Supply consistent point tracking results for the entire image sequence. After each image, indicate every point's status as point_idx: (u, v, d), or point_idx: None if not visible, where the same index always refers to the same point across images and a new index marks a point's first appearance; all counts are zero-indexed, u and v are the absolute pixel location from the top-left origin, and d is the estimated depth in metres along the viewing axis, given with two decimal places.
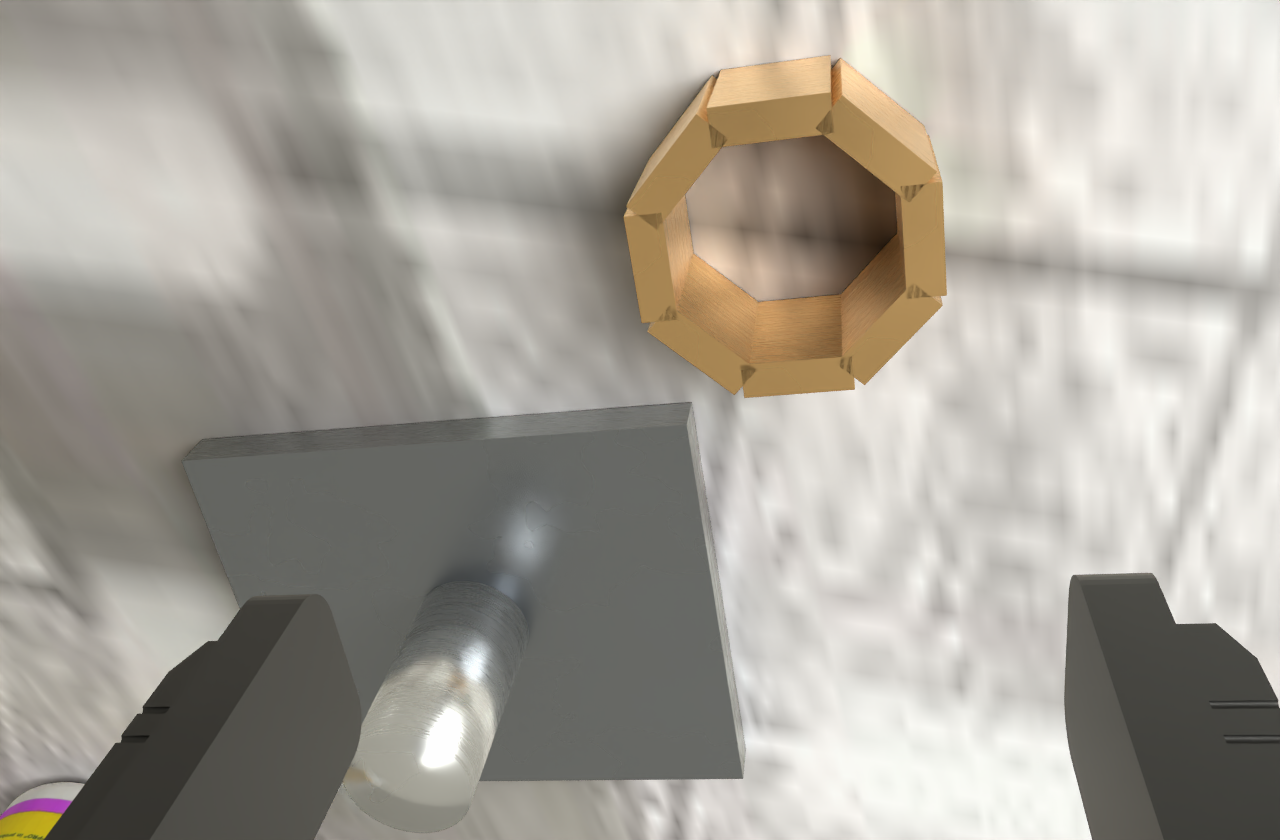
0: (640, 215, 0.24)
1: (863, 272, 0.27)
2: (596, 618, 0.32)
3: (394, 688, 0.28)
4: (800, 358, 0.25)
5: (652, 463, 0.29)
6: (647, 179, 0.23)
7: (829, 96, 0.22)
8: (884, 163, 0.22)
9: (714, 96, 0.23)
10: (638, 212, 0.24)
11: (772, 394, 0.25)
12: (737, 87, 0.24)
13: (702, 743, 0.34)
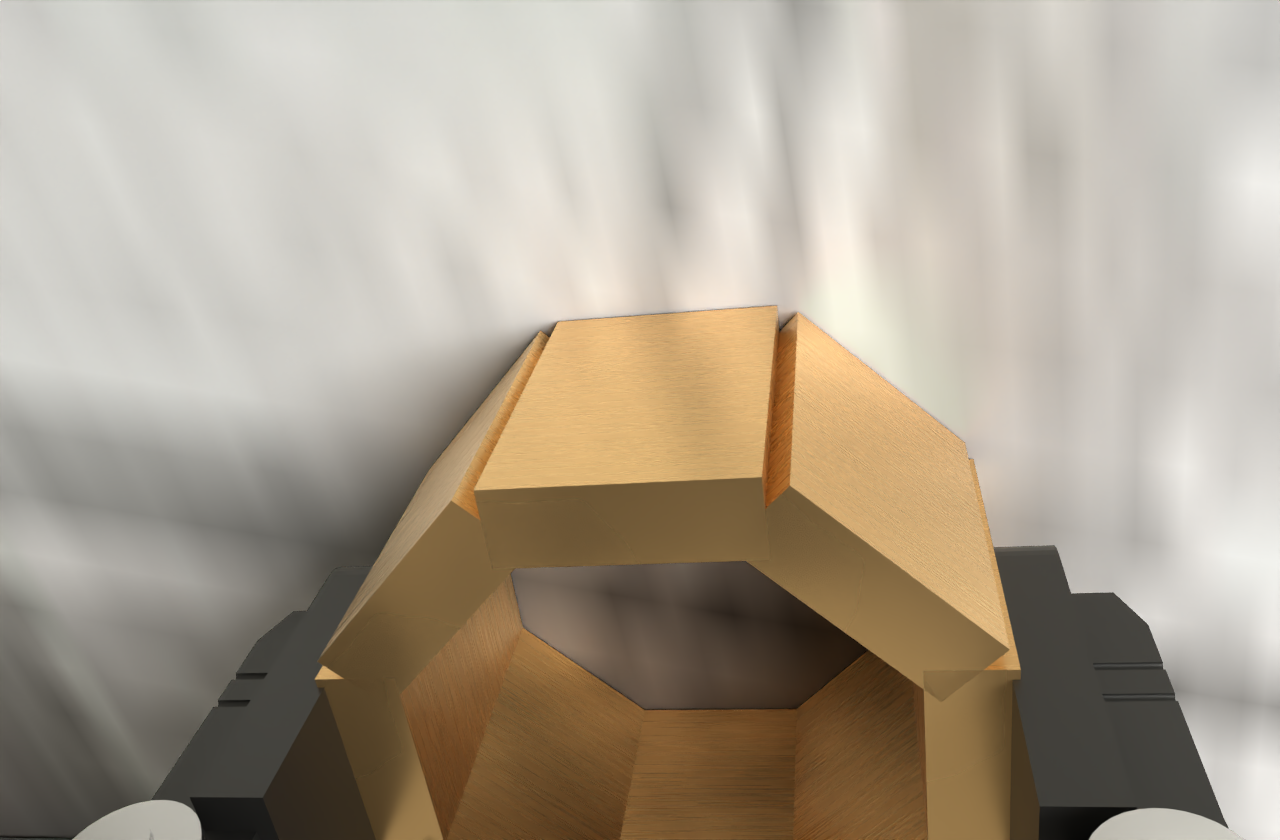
0: (350, 679, 0.11)
1: (839, 683, 0.14)
2: None
3: None
4: None
5: None
6: (356, 616, 0.10)
7: (759, 486, 0.09)
8: (887, 625, 0.10)
9: (508, 435, 0.10)
10: (347, 668, 0.11)
11: None
12: (566, 404, 0.11)
13: None
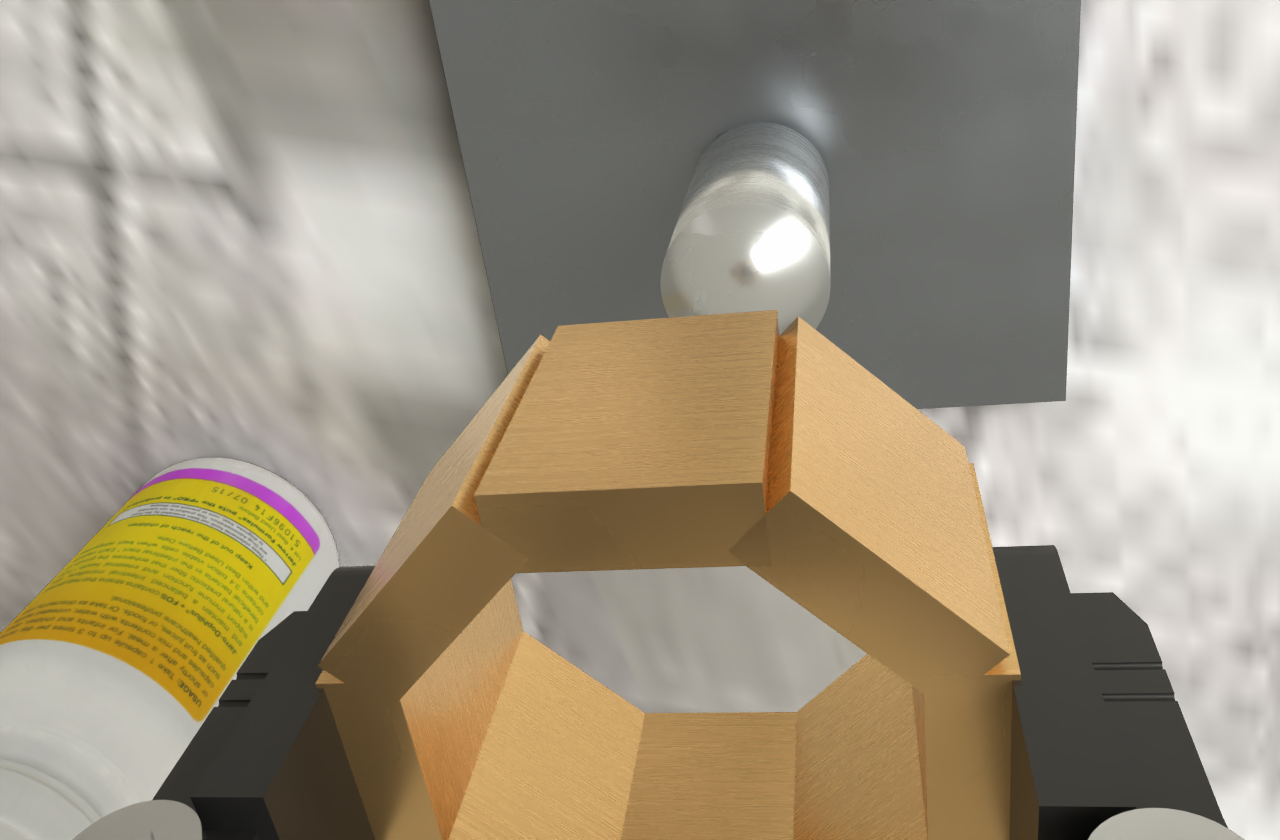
0: (350, 683, 0.11)
1: (839, 686, 0.14)
2: (919, 170, 0.26)
3: (718, 183, 0.22)
4: None
5: None
6: (357, 621, 0.10)
7: (759, 492, 0.09)
8: (887, 630, 0.10)
9: (509, 440, 0.10)
10: (347, 673, 0.11)
11: None
12: (567, 409, 0.11)
13: (1022, 351, 0.28)
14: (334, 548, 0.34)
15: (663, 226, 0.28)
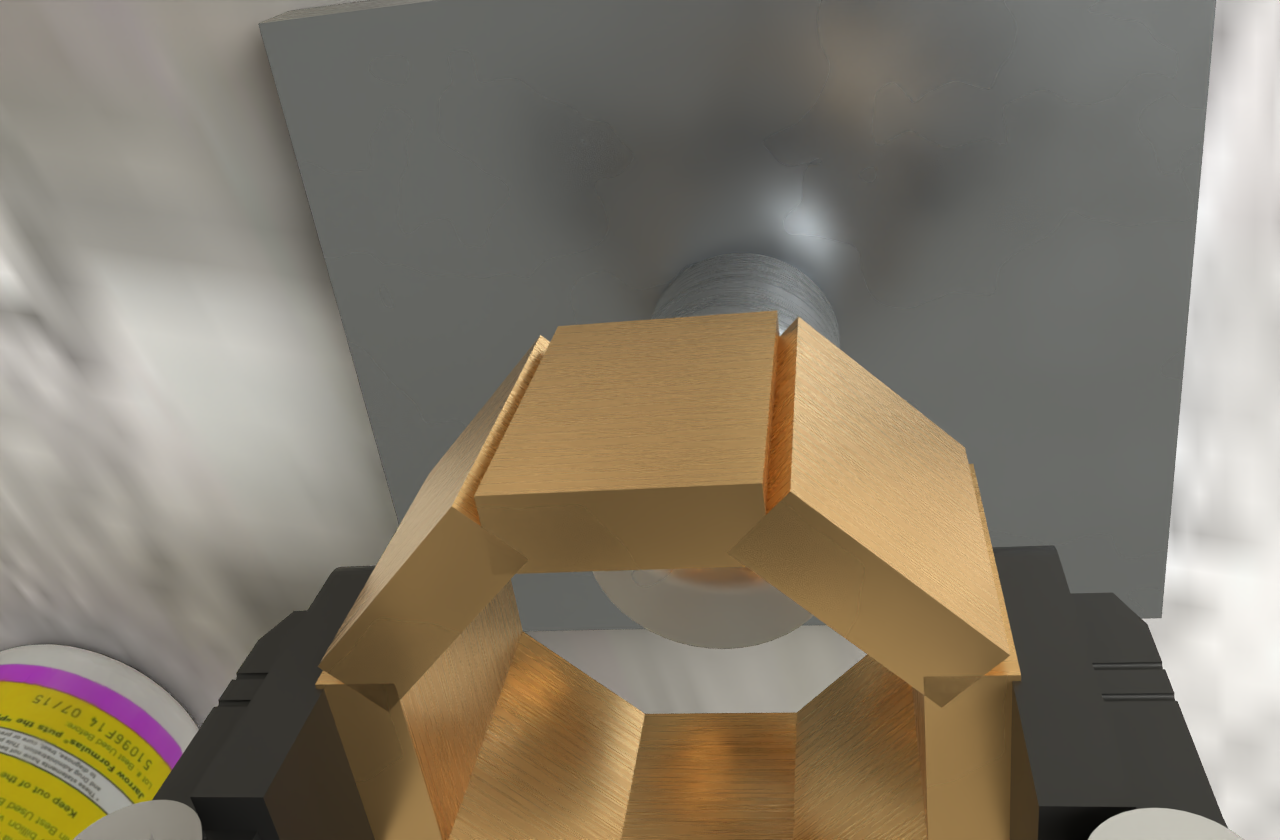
0: (350, 684, 0.11)
1: (839, 687, 0.14)
2: (966, 320, 0.19)
3: None
4: None
5: None
6: (357, 622, 0.10)
7: (759, 493, 0.09)
8: (887, 631, 0.10)
9: (509, 441, 0.10)
10: (347, 673, 0.11)
11: None
12: (567, 409, 0.11)
13: (1104, 555, 0.20)
14: None
15: None
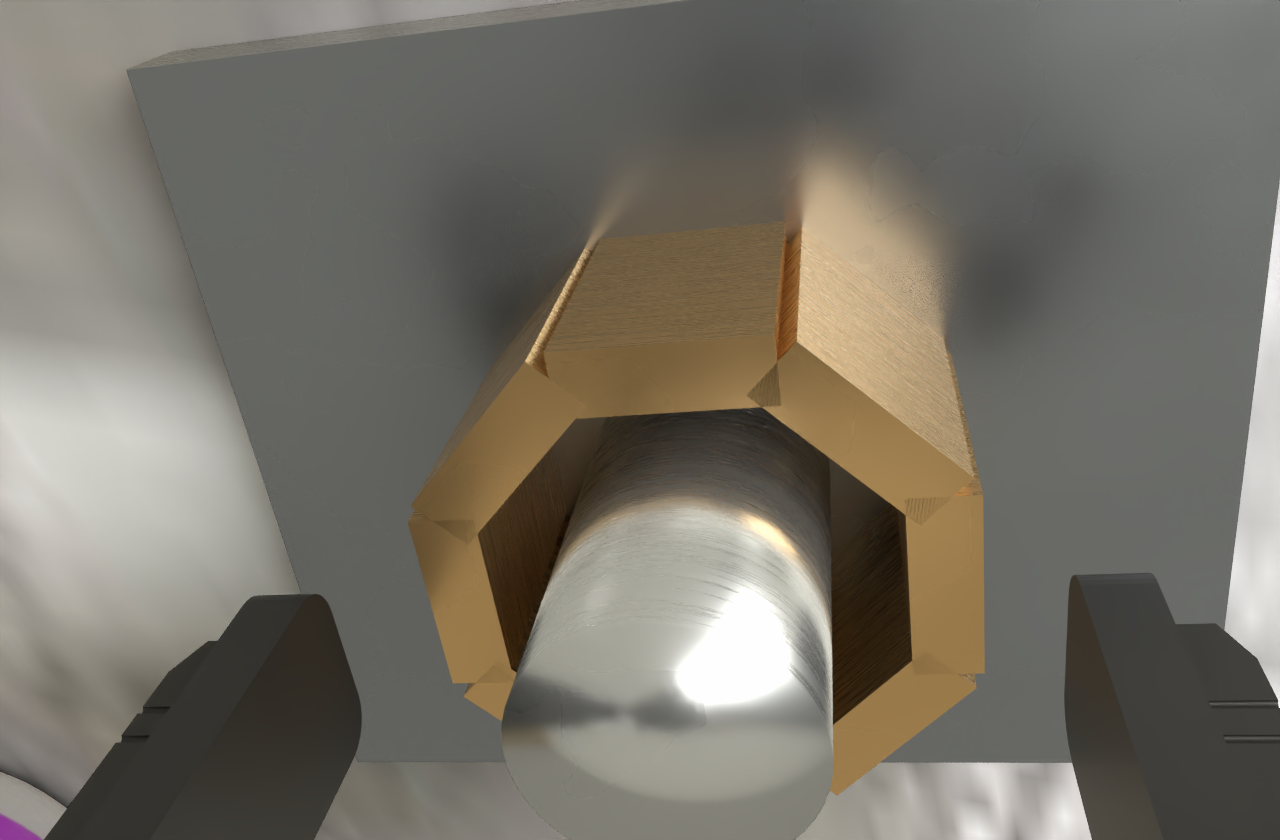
0: (437, 521, 0.13)
1: (839, 556, 0.17)
2: (981, 425, 0.15)
3: (620, 526, 0.12)
4: None
5: (1198, 36, 0.13)
6: (444, 465, 0.13)
7: (772, 343, 0.11)
8: (875, 459, 0.12)
9: (567, 316, 0.13)
10: (433, 513, 0.13)
11: None
12: (613, 294, 0.13)
13: None
14: None
15: None
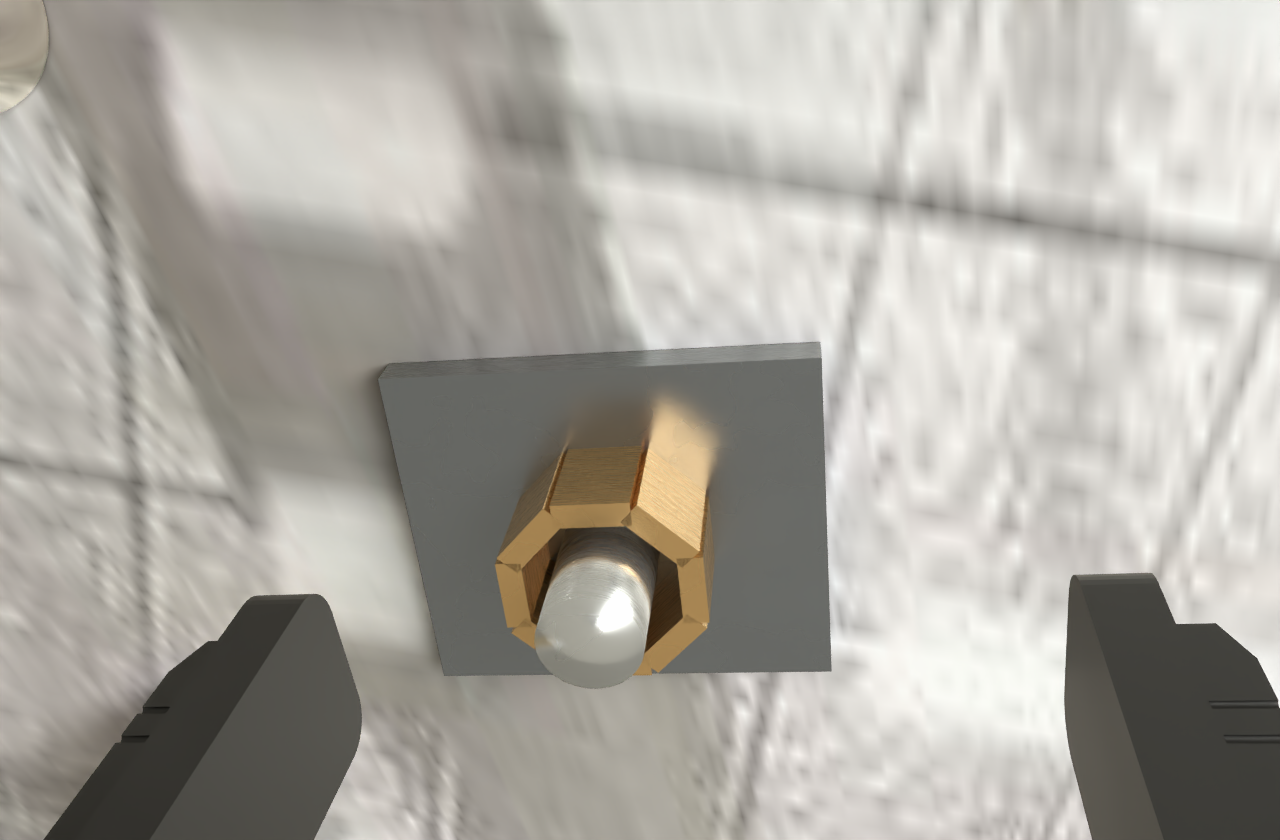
0: (506, 564, 0.35)
1: (667, 578, 0.39)
2: (723, 525, 0.38)
3: (575, 567, 0.34)
4: None
5: (788, 390, 0.35)
6: (510, 543, 0.35)
7: (628, 505, 0.34)
8: (665, 544, 0.34)
9: (557, 489, 0.35)
10: (504, 561, 0.35)
11: None
12: (573, 480, 0.35)
13: (800, 639, 0.40)
14: None
15: None
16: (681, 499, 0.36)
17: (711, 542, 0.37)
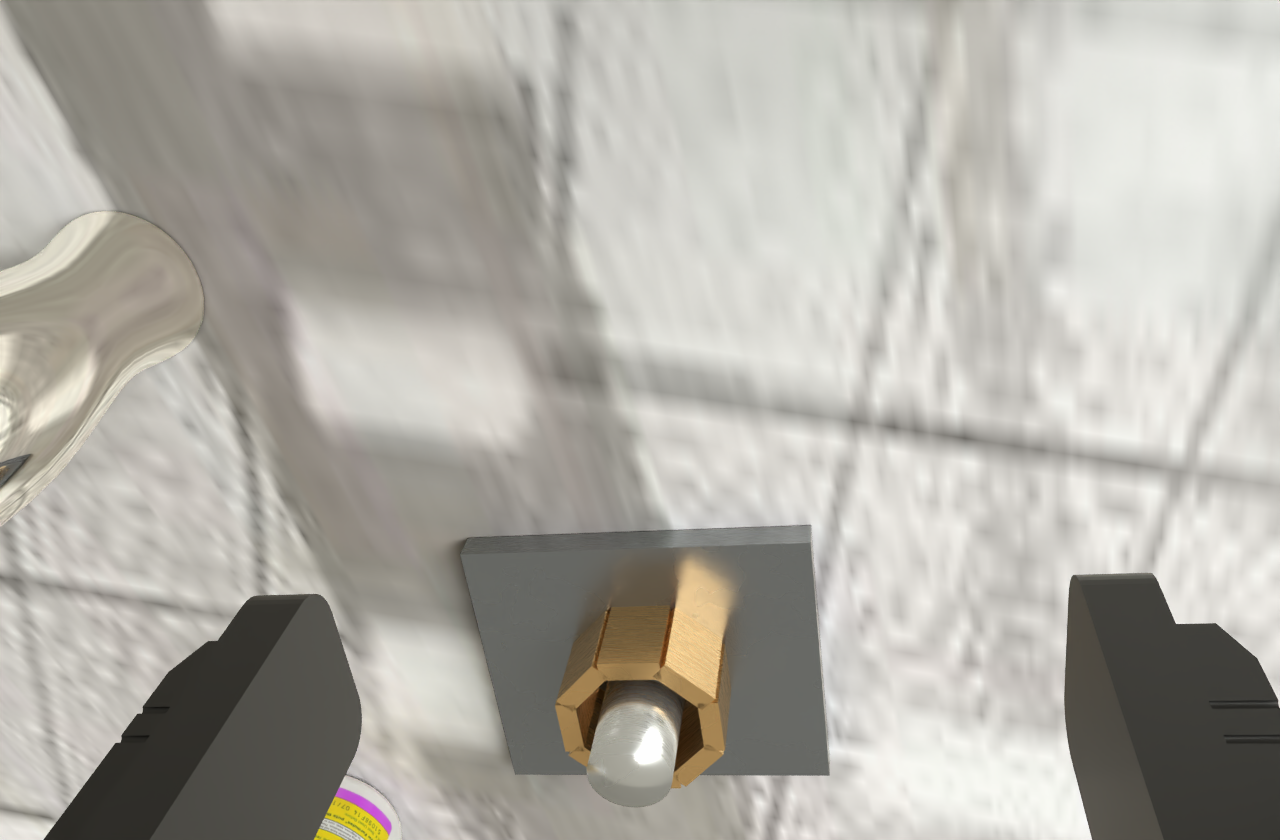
0: (563, 705, 0.45)
1: None
2: (737, 665, 0.47)
3: (618, 712, 0.43)
4: None
5: (785, 566, 0.44)
6: (567, 690, 0.44)
7: (658, 665, 0.43)
8: (688, 693, 0.43)
9: (602, 648, 0.44)
10: (562, 702, 0.45)
11: None
12: (615, 638, 0.44)
13: (803, 750, 0.49)
14: (399, 825, 0.55)
15: None
16: (701, 651, 0.45)
17: (727, 679, 0.47)
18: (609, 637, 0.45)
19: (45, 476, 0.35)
